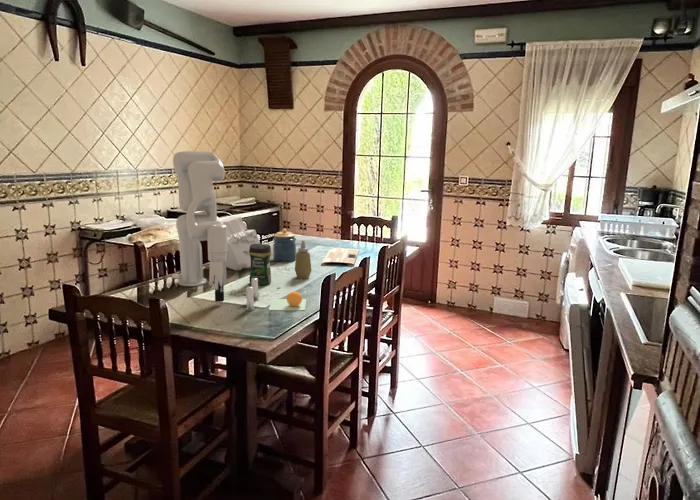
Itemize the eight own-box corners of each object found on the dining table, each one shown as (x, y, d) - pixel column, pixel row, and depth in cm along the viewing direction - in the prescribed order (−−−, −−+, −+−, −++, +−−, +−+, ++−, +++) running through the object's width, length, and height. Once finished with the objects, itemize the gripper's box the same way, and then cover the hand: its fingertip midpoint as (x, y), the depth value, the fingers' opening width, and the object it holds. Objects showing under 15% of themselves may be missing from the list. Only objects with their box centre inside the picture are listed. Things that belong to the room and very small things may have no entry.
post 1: (246, 310, 192) (245, 288, 190) (247, 308, 195) (246, 286, 193) (253, 310, 192) (252, 288, 190) (254, 308, 195) (253, 286, 193)
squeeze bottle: (311, 275, 248) (311, 239, 244) (311, 279, 240) (311, 242, 236) (295, 274, 248) (295, 239, 244) (294, 279, 240) (294, 242, 236)
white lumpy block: (268, 262, 260) (252, 219, 250) (243, 277, 251) (226, 232, 241) (246, 256, 275) (231, 215, 264) (222, 270, 265) (205, 228, 255)
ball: (303, 304, 196) (289, 310, 196) (305, 301, 202) (291, 306, 202) (297, 290, 195) (283, 296, 195) (299, 287, 201) (285, 293, 201)
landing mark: (268, 310, 193) (268, 309, 193) (272, 299, 207) (272, 299, 207) (304, 310, 194) (304, 309, 194) (306, 299, 208) (306, 299, 208)
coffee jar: (247, 284, 229) (246, 244, 225) (254, 280, 236) (253, 241, 232) (266, 286, 226) (266, 246, 223) (273, 282, 234) (273, 243, 230)
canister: (298, 257, 286) (298, 227, 283) (293, 262, 274) (293, 230, 270) (276, 256, 287) (275, 226, 284) (270, 261, 275) (269, 230, 271)
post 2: (251, 300, 205) (250, 279, 203) (252, 298, 208) (251, 277, 206) (257, 300, 205) (257, 279, 203) (258, 298, 208) (258, 277, 206)
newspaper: (353, 267, 268) (354, 262, 267) (317, 266, 270) (318, 261, 269) (358, 253, 304) (358, 248, 303) (326, 252, 305) (327, 247, 305)
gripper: (212, 251, 202) (214, 295, 206) (203, 260, 188) (205, 306, 192) (231, 252, 203) (232, 295, 206) (223, 260, 188) (225, 306, 192)
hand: (219, 300), depth 199 cm, fingers closed
